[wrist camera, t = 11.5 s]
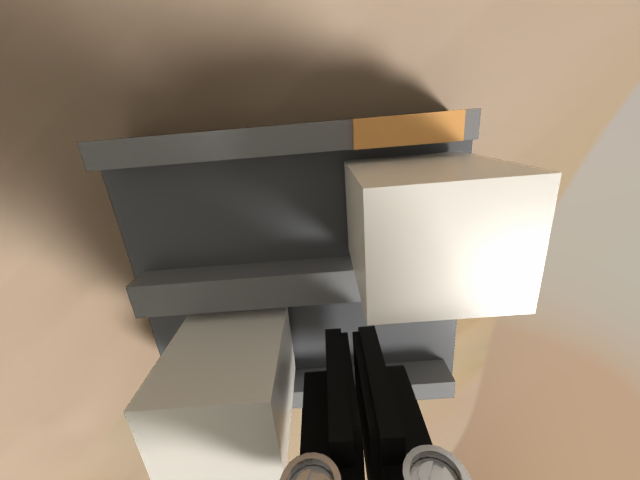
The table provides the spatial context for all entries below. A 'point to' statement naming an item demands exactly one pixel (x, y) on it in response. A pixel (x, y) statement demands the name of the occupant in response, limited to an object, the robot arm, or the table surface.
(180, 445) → the tab
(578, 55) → the table surface
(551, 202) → the white block
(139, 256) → the switch bank
